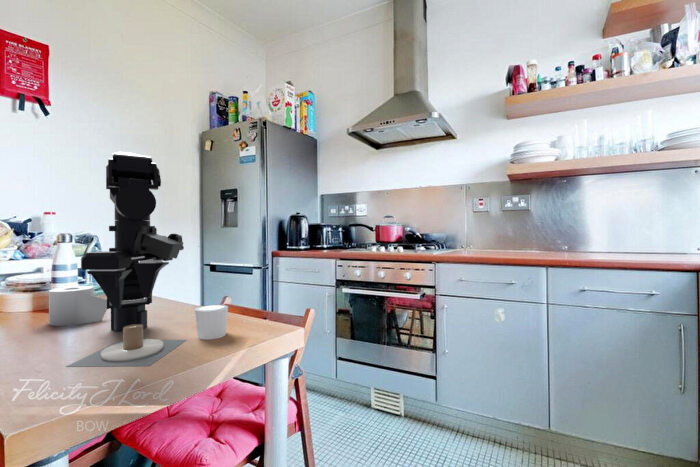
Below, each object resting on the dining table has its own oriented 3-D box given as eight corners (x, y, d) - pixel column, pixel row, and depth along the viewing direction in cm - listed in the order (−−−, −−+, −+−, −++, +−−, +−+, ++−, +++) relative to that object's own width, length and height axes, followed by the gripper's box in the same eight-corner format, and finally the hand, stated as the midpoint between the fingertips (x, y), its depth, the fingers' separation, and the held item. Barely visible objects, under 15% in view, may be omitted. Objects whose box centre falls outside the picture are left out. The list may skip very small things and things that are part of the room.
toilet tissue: (108, 320, 90) (108, 288, 90) (43, 327, 84) (42, 293, 84) (113, 313, 98) (113, 283, 98) (54, 319, 92) (54, 287, 92)
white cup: (233, 334, 78) (233, 304, 78) (219, 344, 71) (219, 311, 71) (205, 333, 79) (205, 303, 79) (188, 343, 72) (188, 310, 72)
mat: (66, 371, 58) (66, 366, 57) (120, 343, 72) (120, 340, 72) (149, 370, 58) (149, 365, 58) (187, 343, 72) (187, 339, 72)
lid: (87, 362, 60) (86, 334, 59) (123, 343, 70) (123, 319, 69) (144, 361, 60) (144, 334, 60) (173, 342, 70) (172, 319, 70)
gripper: (147, 219, 55) (147, 314, 55) (196, 221, 74) (197, 293, 74) (78, 219, 55) (78, 314, 55) (145, 221, 74) (145, 293, 74)
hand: (133, 302), depth 65 cm, fingers open, 9 cm apart
